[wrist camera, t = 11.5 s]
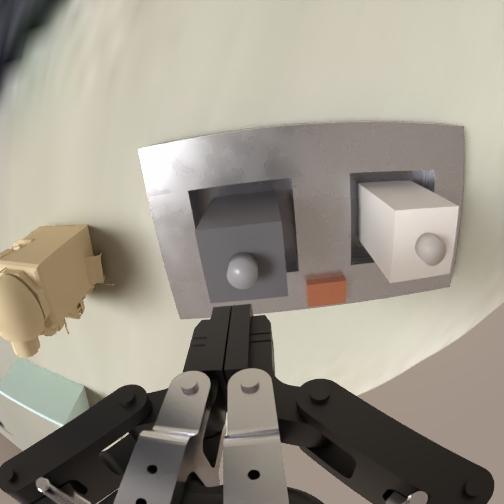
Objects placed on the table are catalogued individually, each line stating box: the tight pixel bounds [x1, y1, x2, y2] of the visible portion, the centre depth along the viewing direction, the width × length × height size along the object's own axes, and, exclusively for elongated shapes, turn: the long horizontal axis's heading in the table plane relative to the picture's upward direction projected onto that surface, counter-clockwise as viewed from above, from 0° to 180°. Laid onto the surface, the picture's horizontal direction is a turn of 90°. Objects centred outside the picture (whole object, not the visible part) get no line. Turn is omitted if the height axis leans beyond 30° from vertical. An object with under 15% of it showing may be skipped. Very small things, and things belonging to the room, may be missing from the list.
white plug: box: [358, 180, 459, 283], centre depth 19 cm, size 5×5×8 cm
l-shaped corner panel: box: [0, 358, 90, 427], centre depth 32 cm, size 12×12×8 cm
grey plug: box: [195, 190, 288, 303], centre depth 19 cm, size 5×5×8 cm
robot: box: [0, 225, 114, 358], centre depth 19 cm, size 10×8×15 cm
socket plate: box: [138, 121, 464, 319], centre depth 22 cm, size 14×24×3 cm, turn 97°
